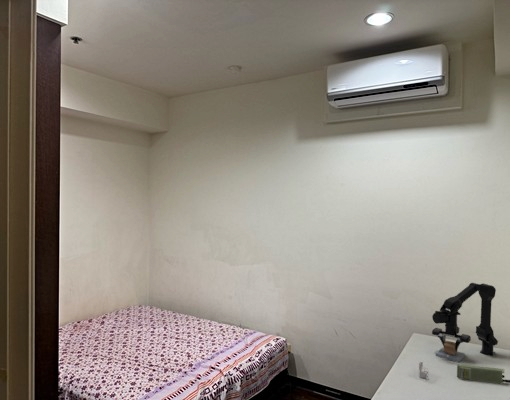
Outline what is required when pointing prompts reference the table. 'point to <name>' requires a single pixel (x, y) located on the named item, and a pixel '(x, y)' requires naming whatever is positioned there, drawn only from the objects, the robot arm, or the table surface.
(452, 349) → the taped cardboard box
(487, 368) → the handheld radio
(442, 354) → the light switch plate
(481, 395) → the table surface
